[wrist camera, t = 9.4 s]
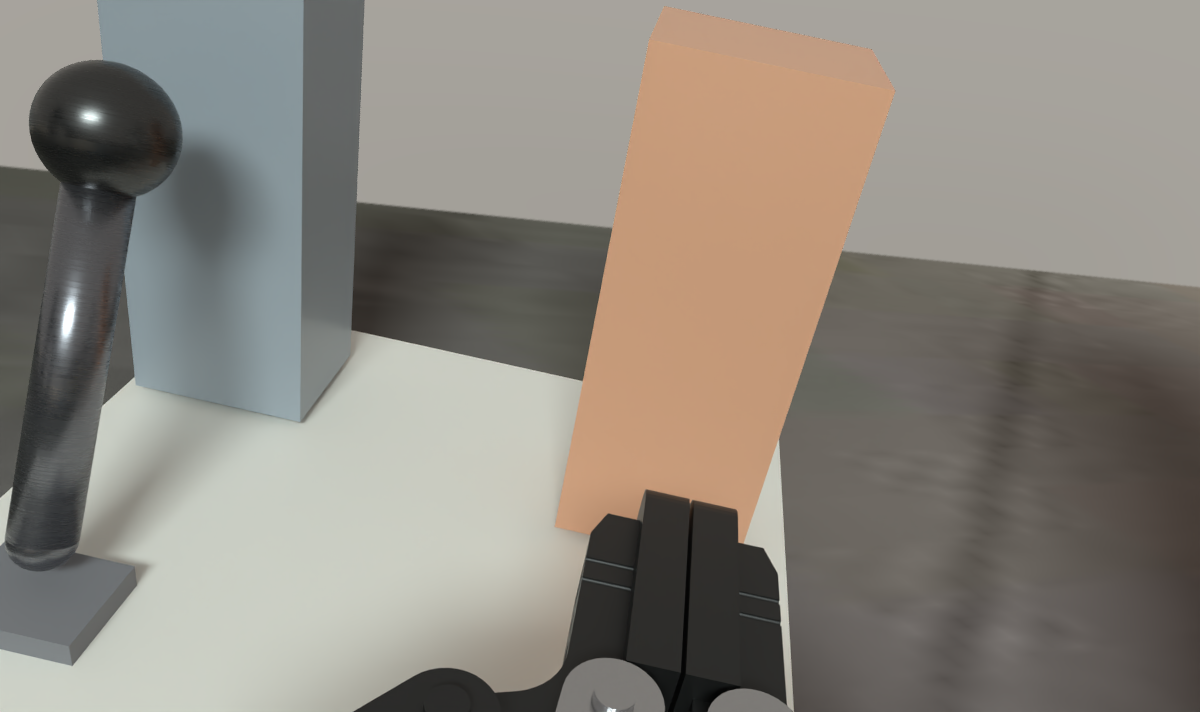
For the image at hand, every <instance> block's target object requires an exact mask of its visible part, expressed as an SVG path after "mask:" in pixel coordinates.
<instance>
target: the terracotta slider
mask: <svg viewBox="0 0 1200 712" xmlns="http://www.w3.org/2000/svg"><path fill="white" fill-rule="evenodd" d="M894 94H895V89H894V88H893V86H892V84H891V82H890V80H889V79H888V77H887V75H886V73H885V72H884V70H883V68H882V67H881V65H880V63H879V62H878V59H877V58H876V56H875V54H874V52H873V51H872V49H868V48H863V47H858V46H853V45H849V44H843V43H839V42H834V41H829V40H825V39H820V38H815V37H810V36H805V35H800V34H796V33H791V32H786V31H781V30H777V29H771V28H767V27H762V26H757V25H753V24H747V23H743V22H738V21H733V20H729V19H724V18H719V17H714V16H709V15H704V14H699V13H695V12H690V11H685V10H681V9H676V8H671V7H666V6H664V8H663V10H662V12H661V15H660V17H659V19H658V21H657V23H656V26H655V28H654V30H653V32H652V34H651V37H650V39H649V43H648V49H647V54H646V59H645V65H644V69H643V74H642V80H641V85H640V90H639V95H638V100H637V106H636V111H635V116H634V121H633V126H632V131H631V136H630V141H629V147H628V152H627V157H626V162H625V167H624V172H623V177H622V183H621V188H620V193H619V198H618V203H617V209H616V214H615V219H614V224H613V229H612V234H611V239H610V244H609V250H608V255H607V260H606V265H605V270H604V275H603V280H602V286H601V291H600V296H599V301H598V306H597V311H596V317H595V322H594V327H593V332H592V337H591V342H590V347H589V353H588V358H587V363H586V368H585V373H584V378H583V384H582V389H581V394H580V399H579V404H578V409H577V415H576V420H575V425H574V430H573V435H572V440H571V445H570V451H569V456H568V461H567V466H566V471H565V476H564V482H563V487H562V492H561V497H560V502H559V507H558V512H557V518H556V523H555V527H557V528H562V529H566V530H571V531H575V532H579V533H584V534H588V535H590V534H591V531H592V530H593V529H594V528H595V527H596V526H597V525H598V524H599V523H600V522H601V520H602V519H603V518H604V517H605V516H606V515H607V514H608V513H609V514H613V515H618V516H622V517H627V518H631V519H636V520H637V517H638V513H639V509H640V505H641V502H642V498H643V495H644V492H645V490H646V489H648V490H652V491H657V492H661V493H666V494H670V495H675V496H679V497H684V498H688V499H690V503H691V501H692V500H696V501H701V502H705V503H710V504H714V505H719V506H723V507H728V508H733V509H736V510H737V512H738V543H743V544H744V541H745V538H746V535H747V532H748V529H749V526H750V523H751V520H752V517H753V514H754V511H755V508H756V505H757V502H758V499H759V496H760V493H761V490H762V487H763V484H764V481H765V478H766V475H767V472H768V469H769V466H770V463H771V460H772V457H773V454H774V451H775V448H776V445H777V442H778V439H779V436H780V433H781V430H782V427H783V424H784V421H785V418H786V416H787V413H788V410H789V407H790V404H791V401H792V398H793V395H794V392H795V389H796V386H797V383H798V380H799V377H800V374H801V371H802V368H803V365H804V362H805V359H806V356H807V353H808V350H809V347H810V344H811V341H812V338H813V335H814V332H815V329H816V326H817V323H818V320H819V317H820V314H821V311H822V308H823V305H824V302H825V299H826V296H827V293H828V290H829V287H830V284H831V281H832V278H833V275H834V272H835V269H836V266H837V264H838V261H839V258H840V255H841V252H842V249H843V246H844V243H845V239H846V237H847V234H848V231H849V227H850V225H851V222H852V219H853V216H854V213H855V210H856V207H857V204H858V201H859V198H860V195H861V192H862V189H863V186H864V183H865V180H866V177H867V174H868V171H869V168H870V165H871V162H872V159H873V156H874V153H875V150H876V147H877V144H878V141H879V138H880V135H881V132H882V129H883V126H884V123H885V120H886V117H887V114H888V112H889V108H890V106H891V103H892V100H893V96H894Z"/></svg>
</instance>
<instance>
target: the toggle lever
mask: <svg viewBox="0 0 1200 712" xmlns="http://www.w3.org/2000/svg"><path fill="white" fill-rule="evenodd" d="M29 129H30V135H31V140H32V143H33V146H34V148H35V151H36V153H37V155H38V156H39V158H40V160H41V161H42V163H43V164H44V166H45V167H46V168H47V169H48V170H49V171H50V173H51V174H52V175H53V176H54V177H56V178H57V179H58V180H59V181H60V189H59V195H58V201H57V208H56V214H55V221H54V227H53V233H52V240H51V246H50V252H49V259H48V265H47V272H46V278H45V284H44V291H43V297H42V303H41V310H40V316H39V323H38V329H37V335H36V342H35V348H34V354H33V361H32V367H31V374H30V380H29V386H28V393H27V399H26V405H25V412H24V418H23V425H22V431H21V437H20V444H19V450H18V456H17V463H16V469H15V475H14V482H13V488H12V495H11V501H10V507H9V514H8V520H7V526H6V533H5V548H6V552H7V554H8V556H9V558H10V559H11V560H12V561H13V562H14V563H15V564H16V565H18V566H19V567H21V568H23V569H26V570H29V571H35V572H42V571H48V570H52V569H55V568H57V567H59V566H61V565H63V564H64V563H65V562H67V561H68V560H69V559H70V558H71V557H72V556H73V554H74V553H75V551H76V550H77V548H78V545H79V541H80V536H81V530H82V524H83V518H84V512H85V506H86V500H87V494H88V488H89V482H90V476H91V470H92V464H93V458H94V452H95V445H96V439H97V433H98V427H99V421H100V415H101V409H102V403H103V397H104V391H105V385H106V379H107V373H108V367H109V361H110V355H111V349H112V343H113V336H114V330H115V324H116V318H117V312H118V306H119V300H120V294H121V288H122V282H123V276H124V270H125V264H126V258H127V252H128V246H129V240H130V234H131V227H132V221H133V215H134V209H135V203H136V197H138V196H141V195H143V194H146V193H148V192H150V191H152V190H154V189H155V188H156V187H158V186H159V185H161V184H162V183H163V182H164V181H165V180H166V179H167V178H168V177H169V176H170V174H171V173H172V172H173V170H174V168H175V167H176V165H177V163H178V160H179V158H180V155H181V151H182V144H183V130H182V125H181V120H180V117H179V114H178V112H177V110H176V107H175V105H174V103H173V102H172V100H171V99H170V97H169V96H168V94H167V93H166V92H165V91H164V90H163V88H162V87H161V86H160V85H158V84H157V83H156V82H155V81H154V80H153V79H151V78H150V77H149V76H147V75H146V74H144V73H142V72H141V71H139V70H137V69H135V68H133V67H130V66H128V65H125V64H122V63H118V62H114V61H106V60H89V61H83V62H78V63H75V64H71V65H69V66H66V67H64V68H62V69H60V70H59V71H57V72H55V73H54V74H53V75H51V76H50V77H49V78H48V79H47V80H46V81H45V82H44V83H43V84H42V86H41V87H40V88H39V90H38V92H37V93H36V95H35V97H34V100H33V102H32V105H31V110H30V116H29Z"/></svg>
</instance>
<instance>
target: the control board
mask: <svg viewBox="0 0 1200 712" xmlns="http://www.w3.org/2000/svg"><path fill="white" fill-rule="evenodd" d="M582 384H583V381H579V380H575V379H570V378H566V377H561V376H557V375H552V374H548V373H543V372H539V371H534V370H529V369H525V368H520V367H516V366H511V365H507V364H502V363H498V362H493V361H489V360H484V359H480V358H475V357H471V356H466V355H462V354H457V353H453V352H448V351H444V350H439V349H435V348H430V347H426V346H421V345H417V344H412V343H407V342H403V341H398V340H394V339H389V338H385V337H380V336H376V335H371V334H367V333H362V332H358V331H353V330H351V349H350V356H349V357H348V359H347V360H346V361H345V363H344V364H343V366H342V367H341V368H340V370H339V371H338V372H337V374H336V375H335V376H334V378H333V379H332V380H331V382H330V383H329V384H328V386H327V387H326V388H325V390H324V391H323V392H322V394H321V395H320V396H319V398H318V399H317V400H316V402H315V403H314V404H313V406H312V407H311V408H310V410H309V411H308V412H307V414H306V415H305V416H304V418H303V419H302V420H301V422H297V421H293V420H288V419H284V418H280V417H275V416H271V415H266V414H262V413H257V412H253V411H248V410H244V409H240V408H235V407H231V406H226V405H222V404H217V403H213V402H208V401H204V400H199V399H195V398H191V397H186V396H182V395H177V394H173V393H168V392H164V391H159V390H155V389H151V388H146V387H142V386H137V385H136V382H135V377H134V378H133V379H132V380H131V381H130V382H129V383H128V384H126V385H125V386H124V387H123V388H122V389H121V390H120V391H119V392H118V393H116V394H115V395H114V396H113V397H112V398H111V399H110V400H109V401H108V402H107V403H105V404H104V405H103V406H102V409H101V415H100V421H99V427H98V433H97V439H96V445H95V452H94V458H93V464H92V470H91V476H90V482H89V488H88V494H87V500H86V506H85V512H84V518H83V524H82V530H81V536H80V541H79V545H78V548H77V550H76V551H75V553H74V554H73V556H72V557H71V558H70V559H69V560H68V561H67V562H65V563H64V564H63V565H61V566H59V567H57V568H55V569H52V570H48V571H42V572H35V571H29V570H26V569H23V568H21V567H19V566H18V565H16V564H15V563H14V562H13V561H12V560H11V559H10V558H9V556H8V554H7V552H6V548H5V533H6V526H7V520H8V514H9V507H10V501H11V495H12V488H13V487H12V488H11V489H10V490H9V491H8V492H7V493H6V494H4V495H3V496H2V497H1V498H0V712H353V711H355V710H357V709H358V708H360V707H362V706H363V705H365V704H367V703H369V702H370V701H372V700H374V699H375V698H377V697H379V696H381V695H382V694H384V693H386V692H387V691H389V690H391V689H392V688H394V687H396V686H398V685H399V684H401V683H403V682H404V681H406V680H408V679H409V678H411V677H413V676H415V675H417V674H419V673H421V672H424V671H427V670H430V669H436V668H455V669H460V670H464V671H467V672H470V673H472V674H474V675H476V676H478V677H479V678H481V679H482V680H484V681H485V682H486V683H487V684H488V685H489V686H490V687H491V688H492V690H493V691H494V692H495V693H497V692H511V691H521V690H527V689H530V688H534V687H536V686H539V685H541V684H543V683H545V682H546V681H548V680H550V679H551V678H552V677H553V676H554V675H555V674H557V673H558V671H559V670H560V669H561V667H562V664H563V659H564V654H565V649H566V644H567V638H568V633H569V628H570V623H571V618H572V613H573V608H574V603H575V598H576V594H577V589H578V585H579V581H580V577H581V572H582V568H583V564H584V560H585V555H586V551H587V547H588V543H589V538H590V535H588V534H584V533H579V532H575V531H571V530H566V529H562V528H557V527H555V523H556V518H557V512H558V507H559V502H560V497H561V492H562V487H563V482H564V476H565V471H566V466H567V461H568V456H569V451H570V445H571V440H572V435H573V430H574V425H575V420H576V415H577V409H578V404H579V399H580V394H581V389H582ZM744 544H747V545H752V546H756V547H761V548H764V550H765V552H766V553H767V555H768V557H769V559H770V561H771V562H772V564H773V566H774V568H775V569H776V571H777V573H778V582H779V597H780V600H779V605H780V611H781V623H780V626H782V640H783V655H784V669H785V684H786V698H787V706H788V707H789V708H790V709H791V710H792V711H793V712H794V706H793V688H792V670H791V652H790V634H789V615H788V597H787V579H786V561H785V543H784V525H783V507H782V488H781V470H780V452H779V439H778V442H777V445H776V448H775V451H774V454H773V457H772V460H771V463H770V466H769V469H768V472H767V475H766V478H765V481H764V484H763V487H762V490H761V493H760V496H759V499H758V502H757V505H756V508H755V511H754V514H753V517H752V520H751V523H750V526H749V529H748V532H747V535H746V538H745V541H744Z"/></svg>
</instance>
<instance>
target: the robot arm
mask: <svg viewBox="0 0 1200 712" xmlns="http://www.w3.org/2000/svg"><path fill="white" fill-rule="evenodd" d="M779 600H780V597H779V582H778V573H777V571H776V569H775V568H774V566H773V564H772V562H771V561H770V559H769V557H768V555H767V553H766V552H765V550H764V548H761V547H756V546H752V545H747V544H743V543H738V512H737V510H736V509H733V508H728V507H723V506H719V505H714V504H710V503H705V502H701V501H696V500H692V501H691V503H690V499H688V498H684V497H679V496H675V495H670V494H666V493H661V492H657V491H652V490H648V489H646V490H645V492H644V495H643V498H642V502H641V505H640V509H639V513H638V517H637V520H636V519H631V518H627V517H622V516H618V515H613V514H609V513H608V514H607V515H606V516H605V517H604V518H603V519H602V520H601V522H600V523H599V524H598V525H597V526H596V527H595V528H594V529H593V530H592V531H591V534H590V538H589V543H588V547H587V551H586V555H585V560H584V564H583V568H582V572H581V577H580V581H579V585H578V589H577V594H576V598H575V603H574V608H573V613H572V618H571V623H570V628H569V633H568V638H567V644H566V649H565V654H564V659H563V664H562V667H561V669H560V670H559V671H558V673H557V674H555V675H554V676H553V677H552V678H551V679H550V680H548V681H546V682H545V683H543V684H541V685H539V686H536V687H534V688H530V689H527V690H521V691H511V692H497V693H495V692H494V691H493V690H492V688H491V687H490V686H489V685H488V684H487V683H486V682H485V681H484V680H482V679H481V678H479V677H478V676H476V675H474V674H472V673H470V672H467V671H464V670H460V669H455V668H436V669H430V670H427V671H424V672H421V673H419V674H417V675H415V676H413V677H411V678H409V679H408V680H406V681H404V682H403V683H401V684H399V685H398V686H396V687H394V688H392V689H391V690H389V691H387V692H386V693H384V694H382V695H381V696H379V697H377V698H375V699H374V700H372V701H370V702H369V703H367V704H365V705H363V706H362V707H360V708H358V709H357V710H355V711H353V712H793V711H792V710H791V709H790V708H789V707H788V706H787V698H786V684H785V669H784V655H783V640H782V626H780V623H781V611H780V605H779Z"/></svg>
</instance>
